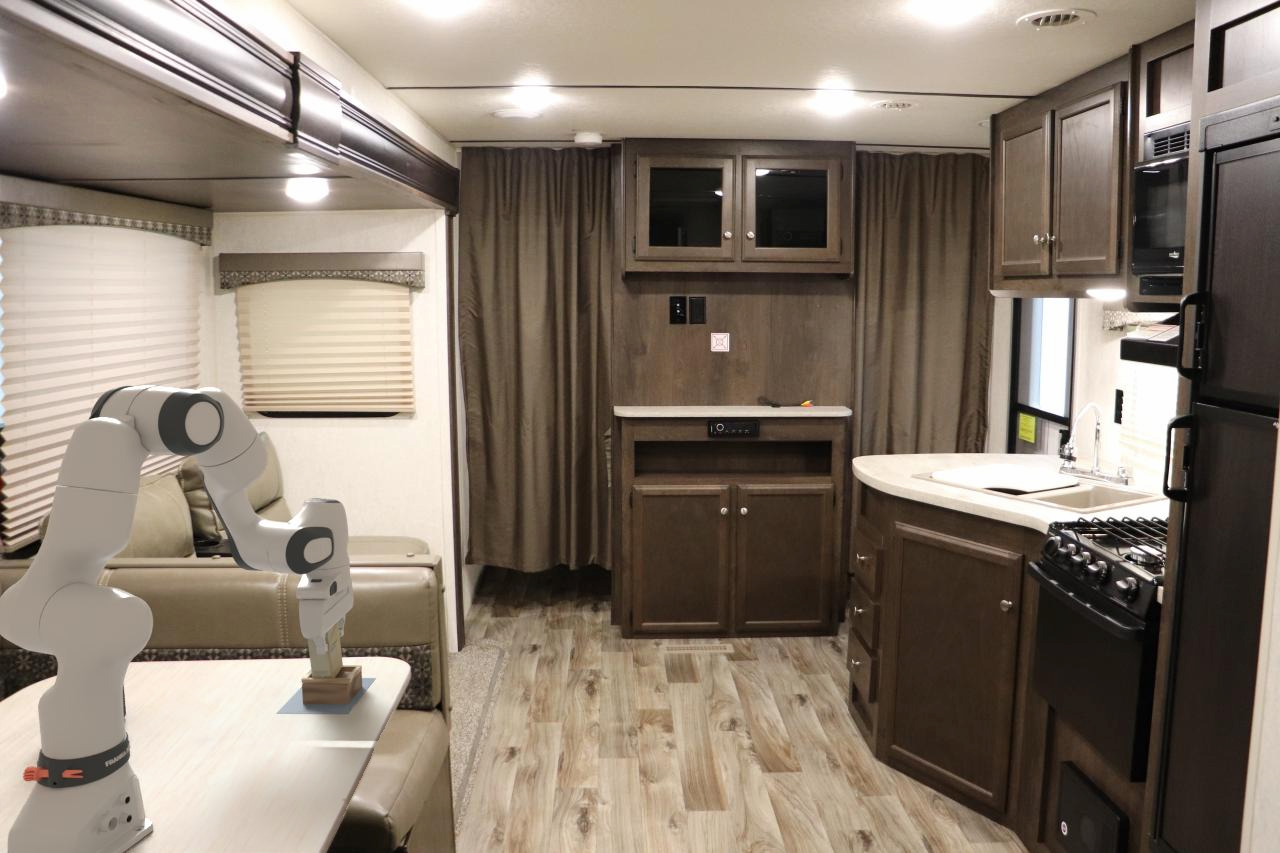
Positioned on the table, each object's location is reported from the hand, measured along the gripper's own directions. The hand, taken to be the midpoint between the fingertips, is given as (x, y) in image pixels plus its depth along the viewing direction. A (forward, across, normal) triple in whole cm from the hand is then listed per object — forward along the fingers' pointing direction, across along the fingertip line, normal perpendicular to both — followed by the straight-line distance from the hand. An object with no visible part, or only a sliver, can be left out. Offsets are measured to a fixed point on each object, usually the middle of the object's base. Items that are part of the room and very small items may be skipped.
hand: (330, 644), depth 200 cm
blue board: (+12, 0, -1) cm, 12 cm away
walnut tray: (+10, 0, 0) cm, 11 cm away
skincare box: (+6, 0, -1) cm, 6 cm away
